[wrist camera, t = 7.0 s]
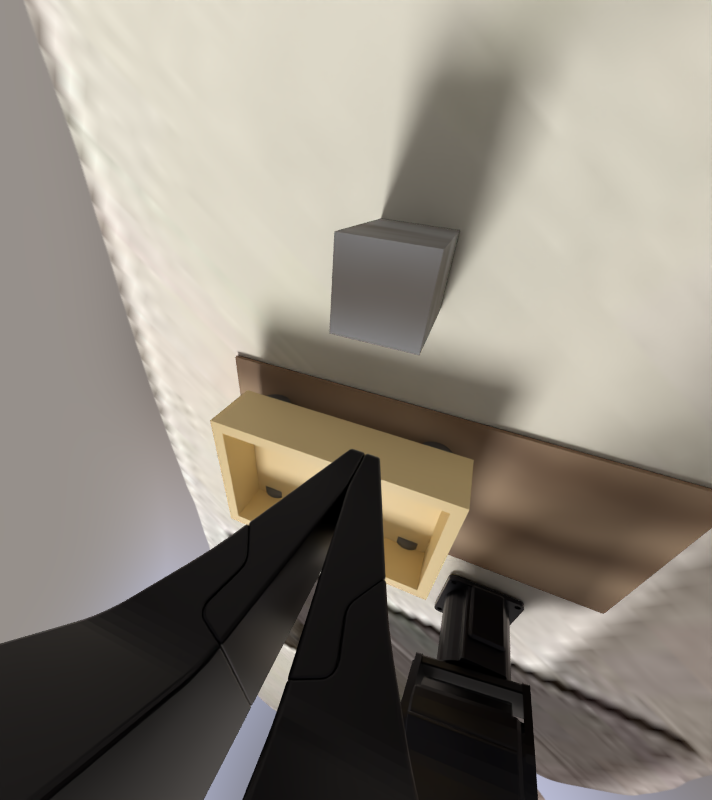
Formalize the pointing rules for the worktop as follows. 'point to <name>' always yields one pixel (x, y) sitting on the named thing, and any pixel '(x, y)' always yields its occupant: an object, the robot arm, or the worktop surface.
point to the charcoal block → (390, 282)
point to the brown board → (529, 495)
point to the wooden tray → (321, 445)
